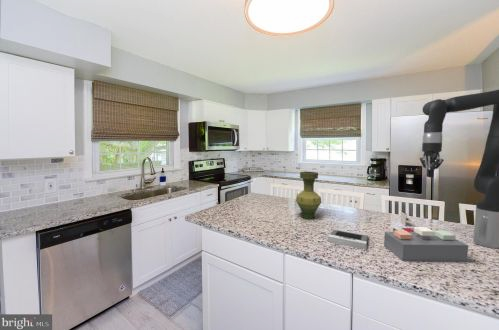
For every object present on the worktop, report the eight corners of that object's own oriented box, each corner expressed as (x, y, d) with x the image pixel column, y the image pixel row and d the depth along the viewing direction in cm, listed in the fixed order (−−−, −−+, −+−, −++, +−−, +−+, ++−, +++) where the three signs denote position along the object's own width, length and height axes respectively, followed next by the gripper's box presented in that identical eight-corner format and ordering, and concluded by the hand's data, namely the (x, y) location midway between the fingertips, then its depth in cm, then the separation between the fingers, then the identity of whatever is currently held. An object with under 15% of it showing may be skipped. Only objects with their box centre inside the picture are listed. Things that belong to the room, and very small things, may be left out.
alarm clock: (327, 236, 114) (334, 223, 127) (327, 244, 114) (334, 231, 128) (366, 243, 105) (368, 229, 119) (366, 253, 106) (368, 237, 119)
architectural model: (406, 223, 140) (407, 212, 139) (412, 227, 133) (413, 215, 133) (400, 223, 141) (401, 211, 140) (406, 227, 134) (406, 215, 133)
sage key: (445, 242, 103) (445, 230, 103) (454, 247, 98) (455, 235, 98) (433, 242, 104) (434, 230, 103) (442, 247, 99) (443, 235, 98)
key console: (440, 246, 108) (441, 232, 107) (466, 261, 94) (468, 245, 94) (383, 245, 109) (384, 231, 108) (402, 260, 95) (403, 244, 95)
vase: (290, 217, 153) (291, 172, 150) (304, 212, 163) (305, 170, 161) (312, 223, 141) (313, 175, 138) (325, 217, 151) (326, 172, 149)
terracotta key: (404, 242, 104) (405, 230, 104) (411, 247, 99) (412, 234, 99) (393, 242, 104) (393, 230, 104) (399, 246, 99) (400, 234, 99)
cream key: (424, 238, 104) (425, 227, 103) (433, 243, 99) (434, 231, 98) (413, 238, 104) (414, 227, 103) (421, 243, 99) (422, 231, 98)
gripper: (451, 141, 105) (448, 179, 106) (429, 142, 118) (427, 175, 120) (434, 142, 105) (432, 179, 107) (415, 142, 118) (413, 175, 120)
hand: (429, 177), depth 113 cm, fingers closed
